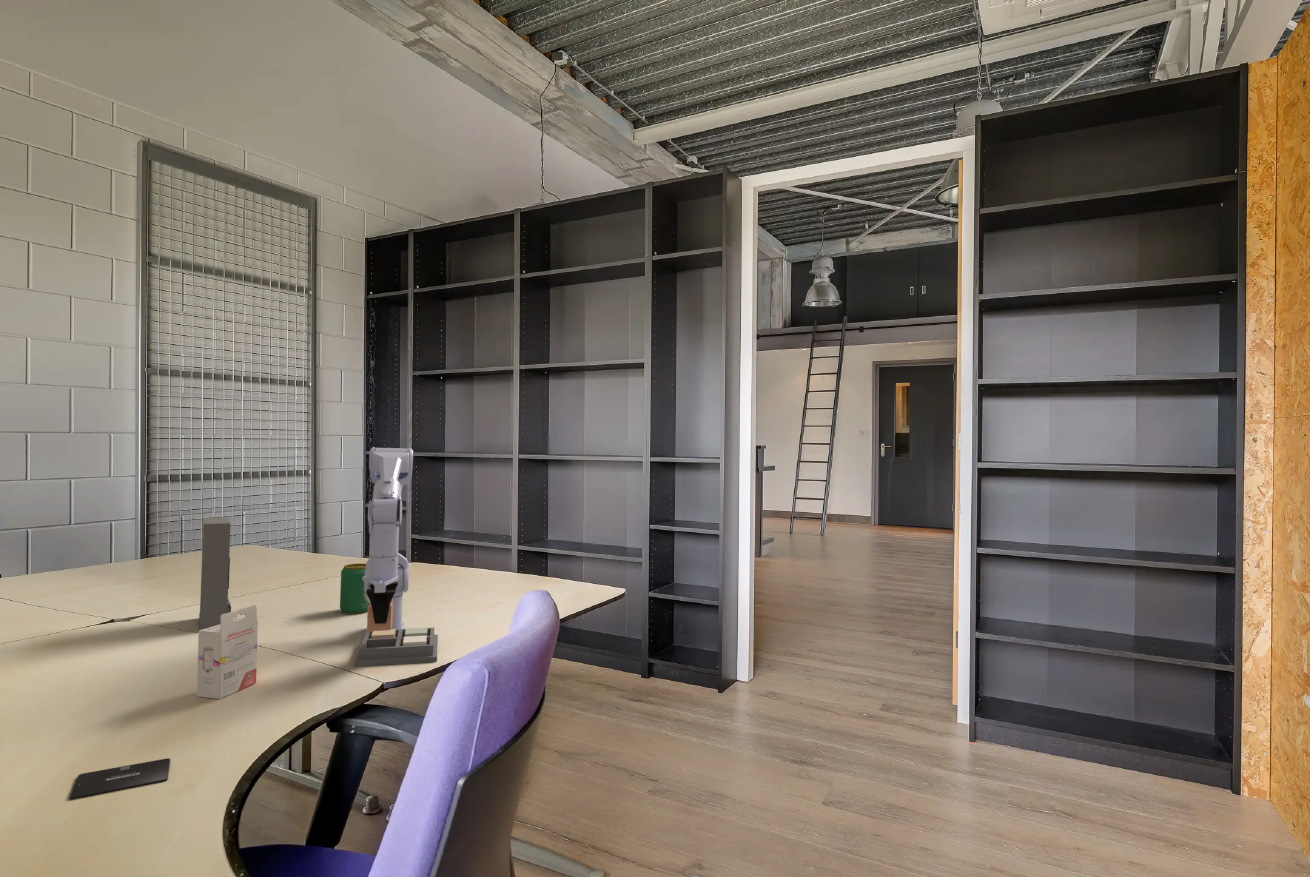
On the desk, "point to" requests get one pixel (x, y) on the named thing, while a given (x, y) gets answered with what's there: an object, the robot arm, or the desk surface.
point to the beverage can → (353, 590)
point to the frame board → (397, 647)
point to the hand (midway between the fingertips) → (381, 620)
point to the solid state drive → (120, 778)
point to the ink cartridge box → (228, 654)
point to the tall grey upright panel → (214, 571)
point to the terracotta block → (379, 627)
